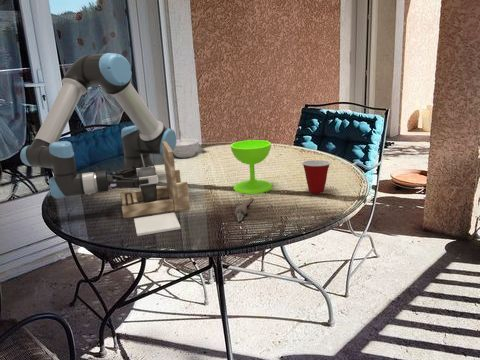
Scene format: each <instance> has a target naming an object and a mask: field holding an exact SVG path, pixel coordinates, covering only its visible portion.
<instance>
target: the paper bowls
mask: <svg viewBox="0 0 480 360" xmlns="http://www.w3.org/2000/svg"><path fill="white" fill-rule="evenodd" d="M199 150H200V145H199V140H198V139H195V138H180V139H176V146H175V148H174V150H173V155H175V157H176V158H180V159H181V158H182V159H184V158H186V159H187V158H191V157H194V156H195V155H196V153H197V152H198V151H199Z"/></svg>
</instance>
